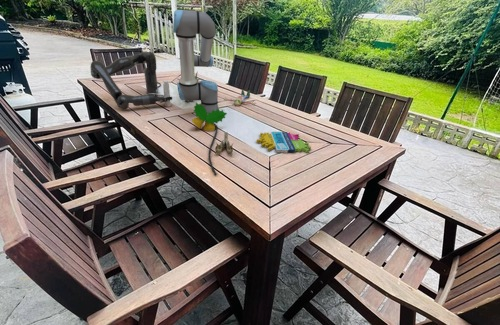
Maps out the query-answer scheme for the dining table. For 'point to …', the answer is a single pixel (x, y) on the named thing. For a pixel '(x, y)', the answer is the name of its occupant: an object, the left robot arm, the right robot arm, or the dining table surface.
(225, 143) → the jawbone
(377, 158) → the dining table surface
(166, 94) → the bottle
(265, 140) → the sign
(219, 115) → the ornament
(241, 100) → the toy
